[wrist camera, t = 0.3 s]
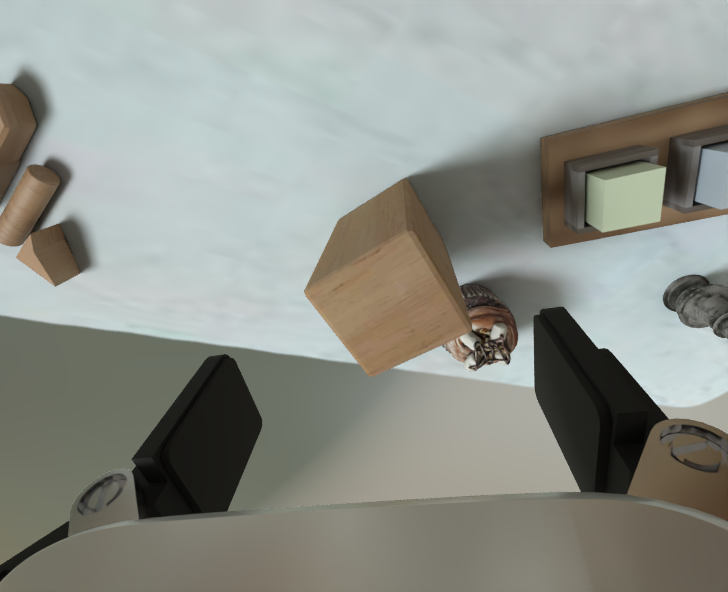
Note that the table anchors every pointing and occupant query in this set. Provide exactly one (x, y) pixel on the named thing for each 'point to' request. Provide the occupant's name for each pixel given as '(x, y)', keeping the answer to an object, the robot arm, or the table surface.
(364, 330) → the wooden block
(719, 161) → the slate key
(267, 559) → the robot arm
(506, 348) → the cupcake
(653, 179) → the sage key
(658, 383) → the table surface
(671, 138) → the console
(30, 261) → the wooden block set
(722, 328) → the grey tall stone piece
